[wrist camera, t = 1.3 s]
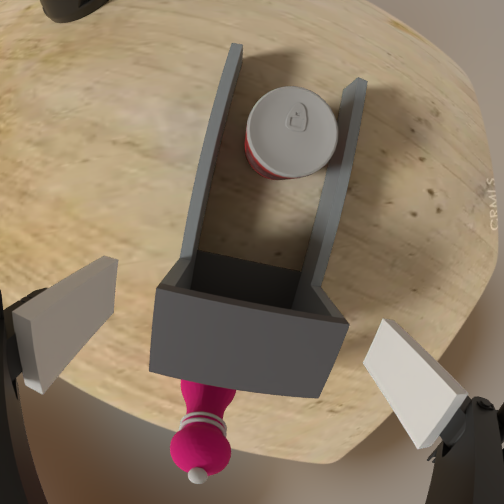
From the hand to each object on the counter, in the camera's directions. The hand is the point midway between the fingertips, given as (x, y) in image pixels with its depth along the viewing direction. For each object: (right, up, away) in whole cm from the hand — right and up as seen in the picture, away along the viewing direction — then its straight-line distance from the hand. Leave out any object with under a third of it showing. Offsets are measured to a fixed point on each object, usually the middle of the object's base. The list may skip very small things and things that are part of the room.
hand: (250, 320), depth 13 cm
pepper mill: (-6, -13, +26) cm, 29 cm away
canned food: (+3, +15, +20) cm, 25 cm away
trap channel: (+2, +11, +20) cm, 23 cm away
